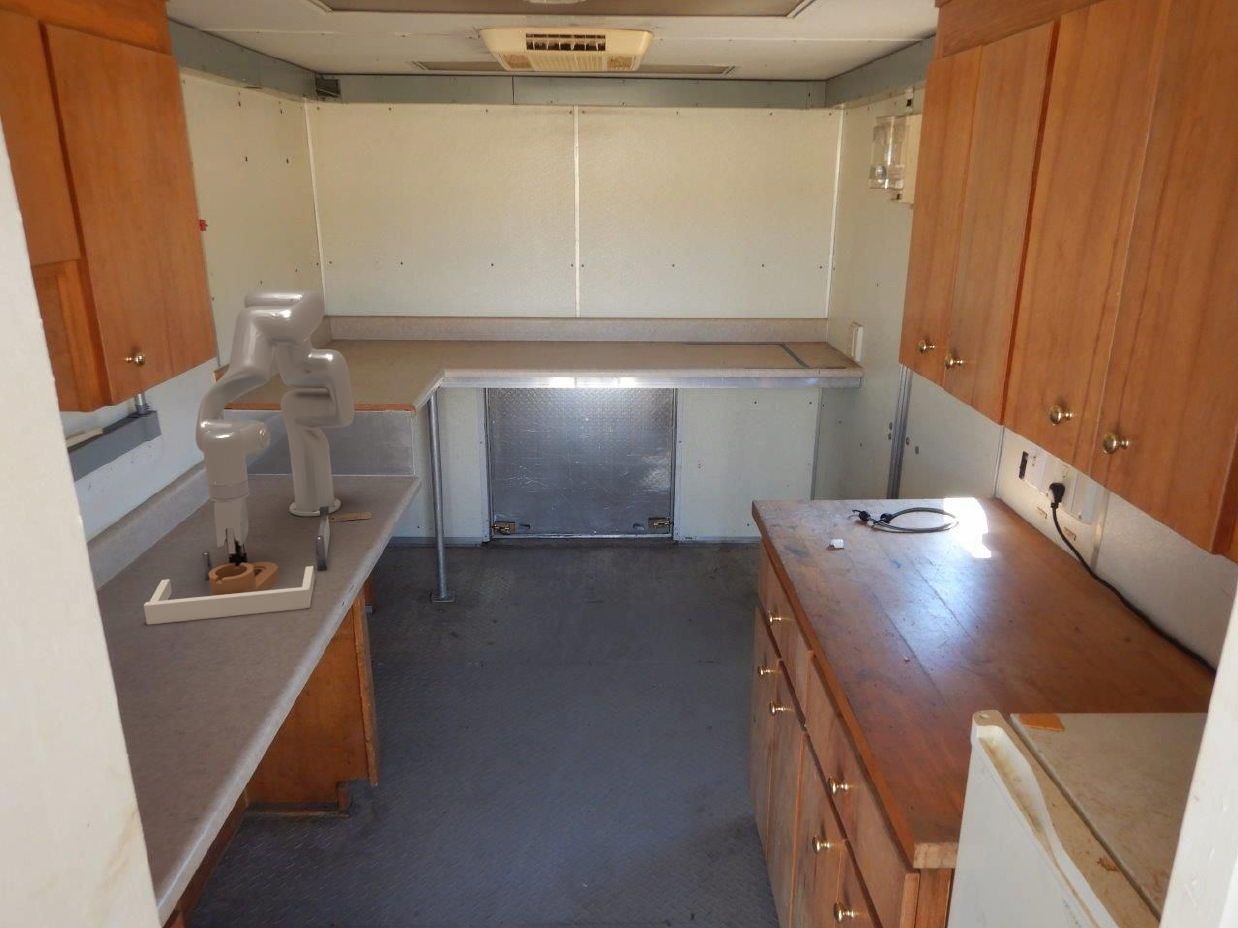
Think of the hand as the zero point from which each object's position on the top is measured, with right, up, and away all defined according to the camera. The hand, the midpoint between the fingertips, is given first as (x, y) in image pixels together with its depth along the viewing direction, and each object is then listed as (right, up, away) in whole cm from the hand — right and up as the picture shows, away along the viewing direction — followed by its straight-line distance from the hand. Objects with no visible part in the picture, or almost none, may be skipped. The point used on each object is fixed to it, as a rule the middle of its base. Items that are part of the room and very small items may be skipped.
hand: (239, 571), depth 183 cm
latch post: (-8, -2, +3) cm, 9 cm away
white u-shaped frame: (+2, -5, -6) cm, 8 cm away
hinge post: (+15, 0, +8) cm, 17 cm away
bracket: (+3, -4, -2) cm, 5 cm away
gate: (+12, +3, +18) cm, 22 cm away
